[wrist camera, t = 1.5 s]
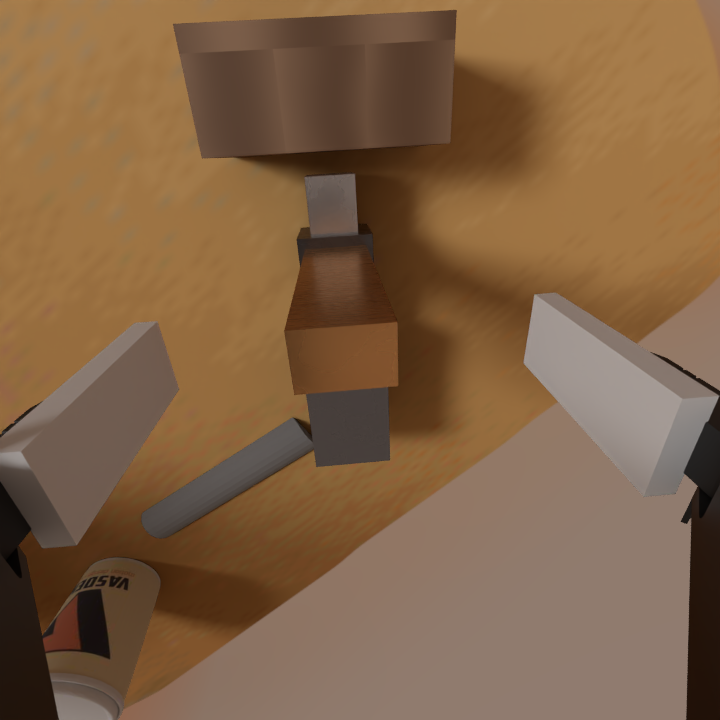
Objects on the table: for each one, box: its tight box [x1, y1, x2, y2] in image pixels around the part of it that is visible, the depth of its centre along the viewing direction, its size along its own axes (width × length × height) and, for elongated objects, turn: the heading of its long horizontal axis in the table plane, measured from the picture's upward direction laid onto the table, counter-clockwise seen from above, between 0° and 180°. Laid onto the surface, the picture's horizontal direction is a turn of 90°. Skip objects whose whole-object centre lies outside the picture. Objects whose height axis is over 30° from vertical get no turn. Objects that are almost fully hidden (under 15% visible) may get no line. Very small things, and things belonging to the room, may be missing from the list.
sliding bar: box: [284, 172, 398, 395], centre depth 22 cm, size 4×20×16 cm, turn 3°
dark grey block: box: [306, 387, 390, 467], centre depth 30 cm, size 6×10×6 cm, turn 3°
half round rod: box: [141, 418, 314, 538], centre depth 37 cm, size 4×20×2 cm, turn 125°
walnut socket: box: [173, 10, 457, 158], centre depth 21 cm, size 12×5×7 cm, turn 93°
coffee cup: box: [42, 557, 161, 720], centre depth 38 cm, size 9×9×12 cm
